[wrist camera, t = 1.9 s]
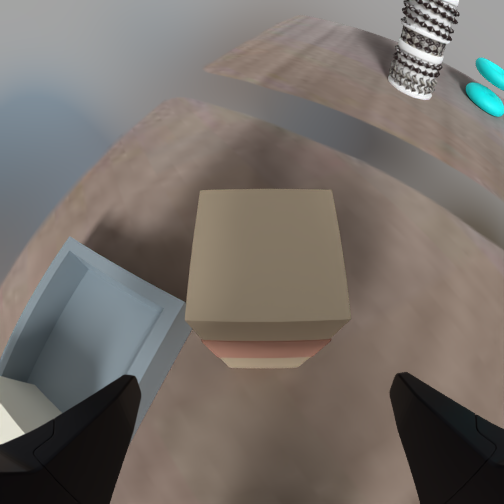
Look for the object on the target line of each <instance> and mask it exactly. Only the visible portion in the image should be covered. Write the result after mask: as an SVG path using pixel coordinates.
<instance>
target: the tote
mask: <svg viewBox="0 0 504 504" xmlns="http://www.w3.org/2000/svg"><path fill="white" fill-rule="evenodd" d="M185 311H186V303H185V302H184V301H182V300H180V299H178V298H176V297H174V296H173V295H171V294H169V293H167V292H165V291H163V290H161V289H159V288H157V287H156V286H154V285H152V284H150V283H148V282H146V281H145V280H143V279H141V278H139V277H137V276H136V275H134V274H132V273H130V272H128V271H127V270H125V269H123V268H121V267H120V266H118V265H116V264H114V263H113V262H111V261H109V260H108V259H106V258H104V257H103V256H101V255H99V254H98V253H96V252H94V251H93V250H91V249H89V248H88V247H86V246H84V245H83V244H81V243H80V242H78V241H76V240H75V239H73V238H72V237H69V238H68V240H67V241H66V242H65V244H64V245H63V247H62V248H61V250H60V251H59V253H58V254H57V256H56V257H55V259H54V260H53V262H52V263H51V265H50V266H49V268H48V270H47V271H46V273H45V274H44V276H43V278H42V279H41V281H40V283H39V284H38V286H37V288H36V289H35V291H34V293H33V295H32V296H31V298H30V300H29V302H28V303H27V305H26V307H25V309H24V311H23V313H22V315H21V316H20V318H19V320H18V322H17V324H16V326H15V328H14V330H13V332H12V334H11V336H10V339H9V341H8V343H7V345H6V347H5V349H4V352H3V354H2V356H1V359H0V376H2V377H6V378H10V379H13V380H17V381H21V382H25V383H30V384H34V385H36V386H37V388H38V389H39V390H40V391H41V392H42V393H43V394H44V395H45V396H46V397H47V398H48V399H49V400H50V401H51V402H52V403H53V404H54V405H55V406H56V407H57V408H58V409H59V410H60V411H61V412H62V413H63V412H65V411H67V410H68V409H70V408H72V407H73V406H75V405H76V404H78V403H80V402H81V401H83V400H84V399H86V398H88V397H89V396H91V395H92V394H94V393H96V392H97V391H99V390H100V389H102V388H104V387H105V386H107V385H108V384H110V383H111V382H113V381H114V380H116V379H118V378H119V377H121V376H122V375H124V374H128V375H134V376H136V378H137V381H138V384H139V387H140V390H141V401H140V406H139V410H138V414H137V419H136V423H135V428H134V432H133V435H132V438H131V440H132V439H133V437H134V435H135V433H136V431H137V429H138V427H139V425H140V424H141V422H142V420H143V418H144V416H145V414H146V412H147V410H148V409H149V407H150V405H151V403H152V401H153V399H154V398H155V396H156V394H157V392H158V390H159V388H160V386H161V385H162V383H163V381H164V379H165V377H166V375H167V374H168V372H169V370H170V368H171V366H172V364H173V363H174V361H175V359H176V357H177V355H178V354H179V352H180V350H181V348H182V346H183V344H184V343H185V341H186V339H187V337H188V335H189V334H190V332H191V330H192V328H191V327H190V326H189V325H188V323H187V322H186V321H185ZM130 442H131V441H130Z"/></svg>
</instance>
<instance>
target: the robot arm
mask: <svg viewBox="0 0 504 504" xmlns="http://www.w3.org/2000/svg"><path fill="white" fill-rule="evenodd" d="M390 399H391V403H392V407H393V411H394V416H395V421H396V425H397V429H398V433H399V436H400V439H401V442H402V445H403V448H404V451H405V454H406V457H407V460H408V463H409V466H410V470H411V473H412V476H413V480H414V483H415V486H416V490H417V493H418V497H419V501H420V504H504V429H502V428H500V427H498V426H496V425H494V424H492V423H490V422H489V421H487V420H485V419H483V418H482V417H480V416H478V415H475V413H473V412H472V411H470V410H468V409H467V408H465V407H463V406H462V405H460V404H458V403H457V402H455V401H453V400H452V399H450V398H448V397H447V396H445V395H444V394H442V393H440V392H439V391H437V390H435V389H434V388H432V387H430V386H429V385H427V384H426V383H424V382H422V381H421V380H419V379H418V378H416V377H414V376H413V375H411V374H410V373H408V372H402V373H397V374H396V375H395V377H394V380H393V383H392V386H391V389H390ZM140 401H141V390H140V387H139V384H138V381H137V378H136V376H134V375H128V374H124V375H122V376H121V377H119V378H118V379H116V380H114V381H113V382H111V383H110V384H108V385H107V386H105V387H104V388H102V389H100V390H99V391H97V392H96V393H94V394H92V395H91V396H89V397H88V398H86V399H84V400H83V401H81V402H80V403H78V404H76V405H75V406H73V407H72V408H70V409H68V410H67V411H65V412H63V413H62V414H60V415H58V416H57V417H55V419H52V420H50V421H48V422H47V423H45V424H43V425H41V426H40V427H38V428H36V429H34V430H32V431H30V432H28V433H26V434H24V435H21V436H19V437H17V438H15V439H12V440H10V441H8V442H6V443H3V444H0V504H110V501H111V498H112V494H113V491H114V488H115V485H116V482H117V479H118V476H119V473H120V470H121V467H122V464H123V461H124V458H125V455H126V452H127V449H128V446H129V444H130V441H131V438H132V435H133V432H134V428H135V423H136V419H137V414H138V410H139V406H140Z"/></svg>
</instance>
